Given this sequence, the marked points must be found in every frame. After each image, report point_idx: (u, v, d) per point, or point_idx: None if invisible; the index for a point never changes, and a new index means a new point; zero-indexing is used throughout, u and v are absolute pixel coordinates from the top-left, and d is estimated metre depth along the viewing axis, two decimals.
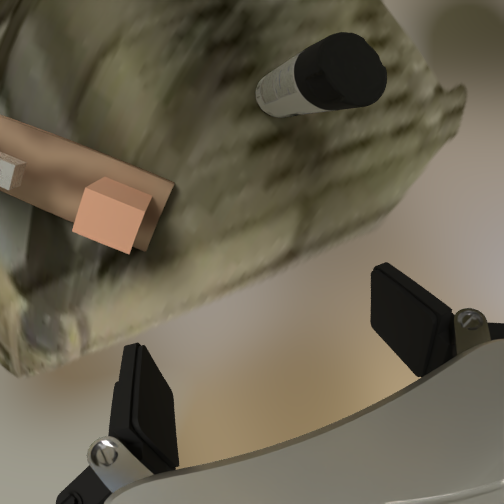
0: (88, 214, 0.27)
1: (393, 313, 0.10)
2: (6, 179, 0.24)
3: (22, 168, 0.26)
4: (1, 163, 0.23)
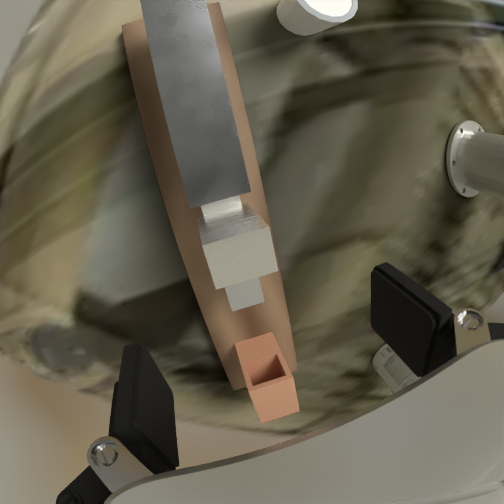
0: (272, 391, 0.30)
1: (393, 313, 0.10)
2: (242, 301, 0.26)
3: None
4: (255, 282, 0.25)
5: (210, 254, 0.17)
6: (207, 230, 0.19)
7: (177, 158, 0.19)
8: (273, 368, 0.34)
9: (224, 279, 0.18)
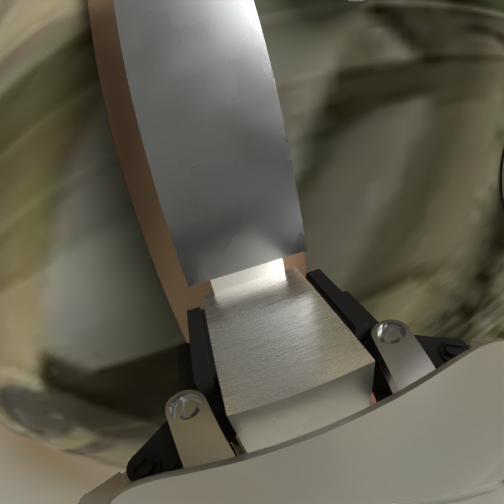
0: None
1: None
2: None
3: None
4: None
5: (245, 425, 0.07)
6: (229, 353, 0.08)
7: (158, 185, 0.09)
8: None
9: None
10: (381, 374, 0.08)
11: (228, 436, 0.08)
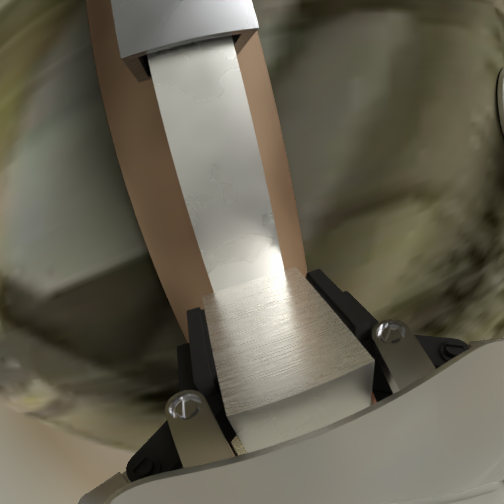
0: None
1: None
2: None
3: None
4: None
5: (245, 426, 0.07)
6: (229, 353, 0.08)
7: None
8: None
9: None
10: (381, 374, 0.08)
11: (228, 436, 0.08)
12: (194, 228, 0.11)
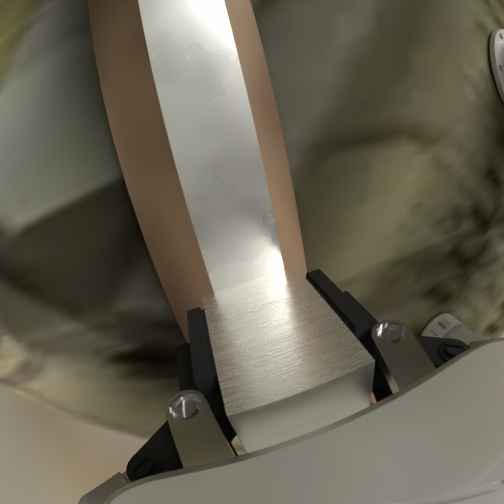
0: None
1: None
2: None
3: None
4: None
5: (245, 425, 0.07)
6: (229, 352, 0.08)
7: None
8: None
9: None
10: (381, 374, 0.08)
11: (228, 436, 0.08)
12: (195, 227, 0.11)
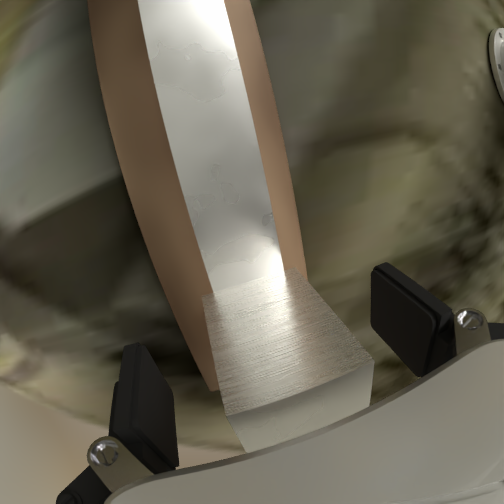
0: None
1: (393, 313, 0.10)
2: None
3: None
4: None
5: (244, 426, 0.07)
6: (228, 353, 0.08)
7: None
8: None
9: None
10: (452, 358, 0.07)
11: None
12: (194, 228, 0.11)
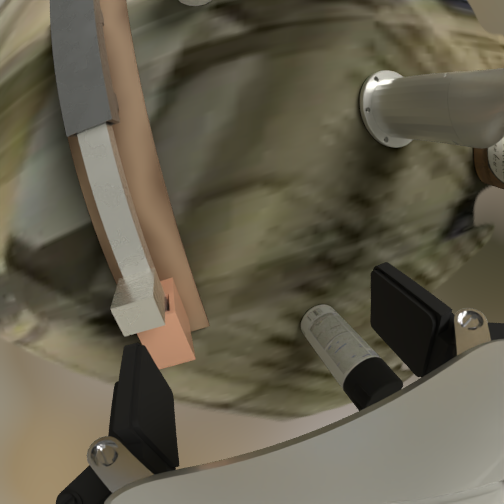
0: (157, 328, 0.30)
1: (393, 313, 0.10)
2: None
3: None
4: None
5: (116, 314, 0.23)
6: (118, 294, 0.25)
7: (60, 99, 0.20)
8: None
9: (128, 330, 0.24)
10: (452, 358, 0.07)
11: None
12: (113, 252, 0.27)
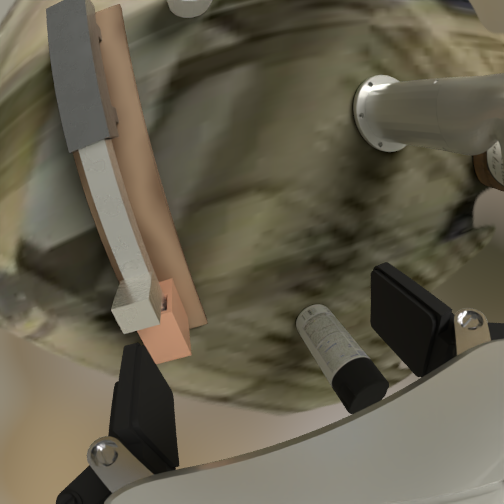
0: (155, 326, 0.33)
1: (393, 313, 0.10)
2: None
3: None
4: None
5: (116, 314, 0.26)
6: (118, 296, 0.27)
7: (61, 118, 0.22)
8: None
9: (127, 328, 0.26)
10: (452, 358, 0.07)
11: None
12: (115, 257, 0.30)
